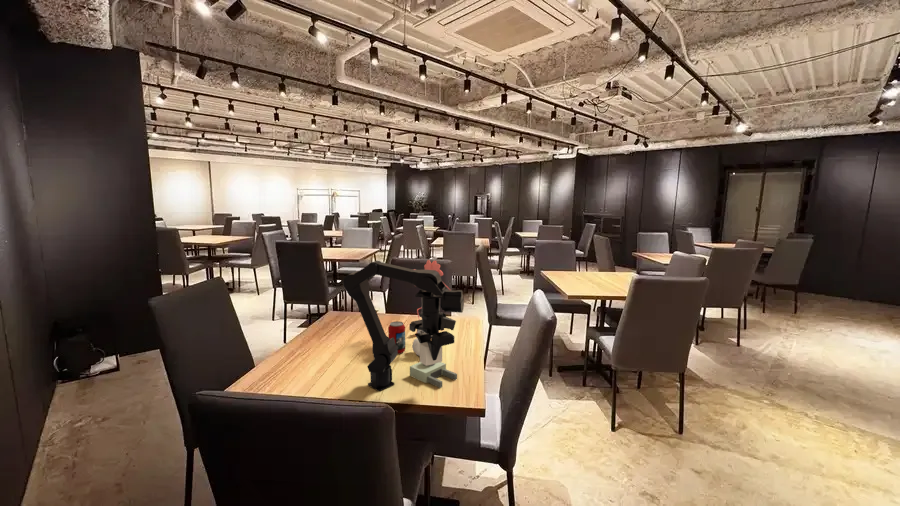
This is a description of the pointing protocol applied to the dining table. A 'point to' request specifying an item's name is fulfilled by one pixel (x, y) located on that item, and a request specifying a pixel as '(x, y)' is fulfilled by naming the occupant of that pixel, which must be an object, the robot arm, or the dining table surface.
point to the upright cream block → (428, 355)
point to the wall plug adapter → (431, 373)
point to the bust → (416, 346)
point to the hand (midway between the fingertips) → (431, 357)
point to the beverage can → (397, 335)
